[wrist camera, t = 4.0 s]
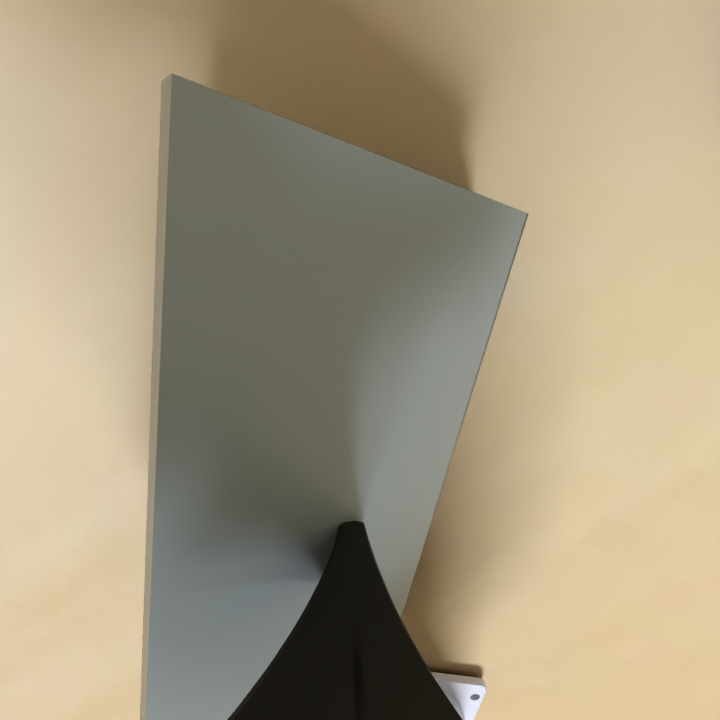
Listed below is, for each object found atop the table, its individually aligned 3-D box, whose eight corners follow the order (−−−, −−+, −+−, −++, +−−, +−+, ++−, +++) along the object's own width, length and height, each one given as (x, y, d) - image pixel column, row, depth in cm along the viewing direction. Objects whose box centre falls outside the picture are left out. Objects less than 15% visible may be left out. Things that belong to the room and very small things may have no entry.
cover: (372, 678, 17) (380, 692, 17) (135, 852, 11) (139, 878, 11) (513, 213, 11) (532, 215, 11) (161, 80, 5) (171, 73, 5)
